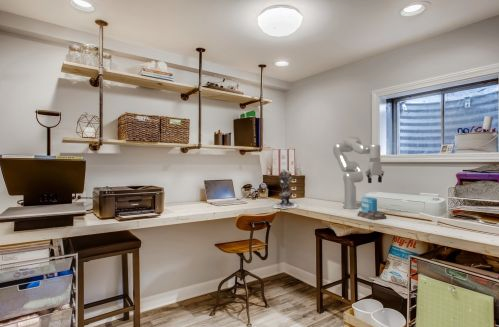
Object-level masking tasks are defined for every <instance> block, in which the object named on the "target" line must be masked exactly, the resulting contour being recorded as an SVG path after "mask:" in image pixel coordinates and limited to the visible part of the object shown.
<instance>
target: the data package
mask: <svg viewBox="0 0 499 327" xmlns="http://www.w3.org/2000/svg"><path fill="white" fill-rule="evenodd" d="M360 203H361V204H360V205H361V208H360V211H362V212H366V213H367V212H368V211H369V210H370V211H375V212H378V199H377V198H376V197H371V196H364V197H363V196H362V197H361V202H360Z"/></svg>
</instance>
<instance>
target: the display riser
mask: <svg viewBox="0 0 499 327" xmlns="http://www.w3.org/2000/svg"><path fill="white" fill-rule="evenodd" d="M356 216H357V217H360V218H363V219H367V220H371V221H377V220H385V219H387V215H386V214H385V213H382V212H378V211H377V212H375V211H370V210H369V211H368V212H367V213H366V212H362V210H359V211H358V213H357V215H356Z"/></svg>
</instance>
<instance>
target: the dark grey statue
mask: <svg viewBox="0 0 499 327" xmlns="http://www.w3.org/2000/svg"><path fill="white" fill-rule="evenodd" d="M278 181H279V186H280V188H281V191H280V192H279V195H278V196H279V198H280V200H281V201H280V203H279V202H277V203H274V204H273V205H272V206H271V208H273V209H282V210H287V209H295V208H296V207H298V206H299V205H297V204H295V203H293V202H291V201H290V198H291V196H292V195H293V192H292V190H291V189H290V184H291V182H292V181H293V178H292V172H291V171H289V170H287V169H282V170H281V171H280V172H279V174H278Z"/></svg>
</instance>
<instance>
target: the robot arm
mask: <svg viewBox="0 0 499 327" xmlns="http://www.w3.org/2000/svg"><path fill="white" fill-rule="evenodd" d="M352 151H353V152H354V153H357V154H359V155H369V162H368V164H367V171H365V177H366V178H367V183H368V184H372V177H373V176H377V182H378V183H381V184H382V179H383V176H384V174H385V171H384V170H382V163H381V160H382V159H381V145H380V144H362V141H361V139H360V137H358V136H346V137H344V138H343V140H342V142H337V143H335V144H334V145H333V146H332V152H333V155H334V157H335V158H336V160H337V162H338V165H339V168H340V170H341V171H342V172H343V174H342V175H343V176H342V181H343V188H344V189H343V190H344V202H343V203H342V205H343V206H342V208H343V209H346V210H356V209H359V206H357V187H356V185H355V183H361V182H362V181H364V173H363V172H362V168H361V167H360V165H359V163H358V162H356V161H353V160H352V161H351V160H349V159H348V156H347V155H345V153H351V152H352Z"/></svg>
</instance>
